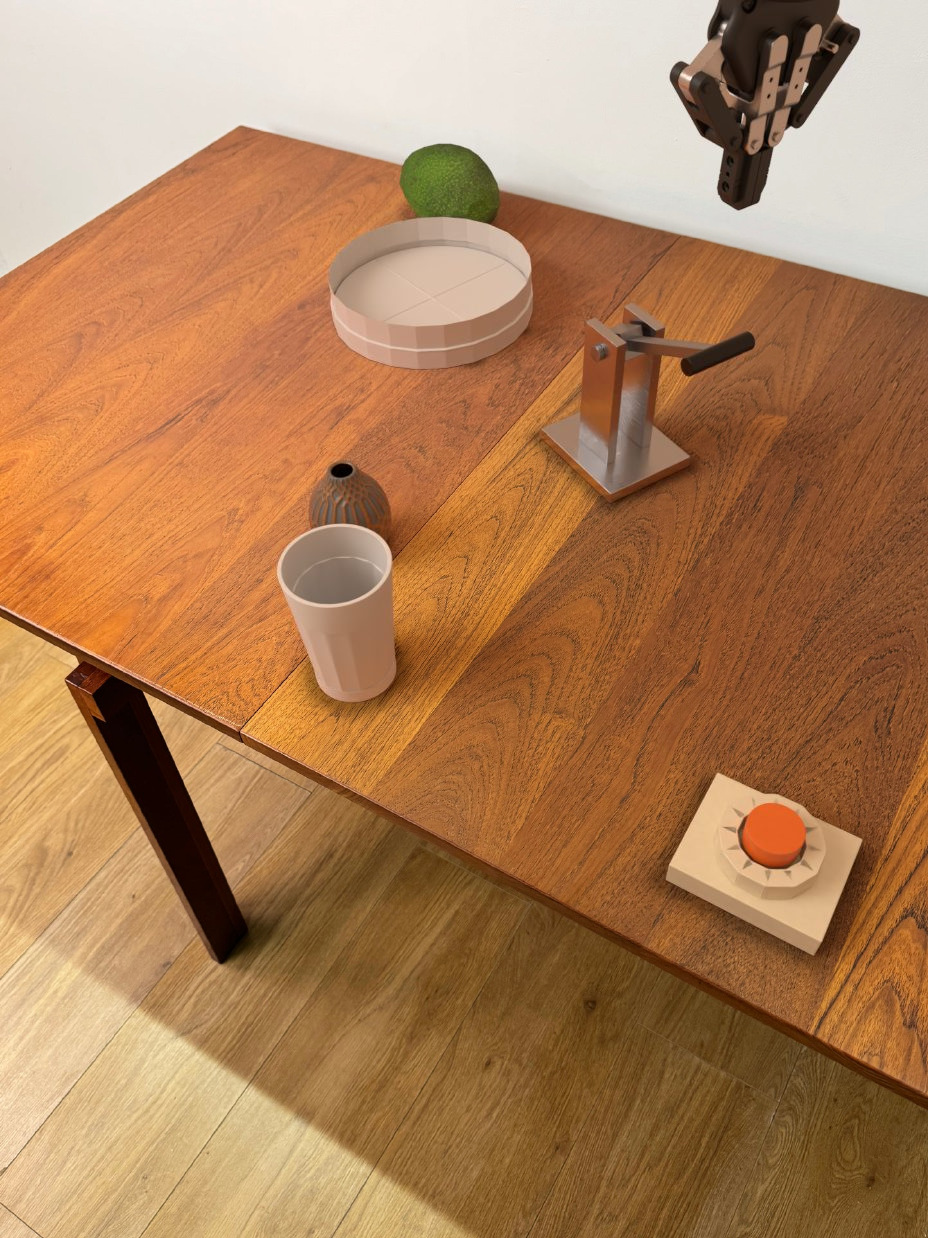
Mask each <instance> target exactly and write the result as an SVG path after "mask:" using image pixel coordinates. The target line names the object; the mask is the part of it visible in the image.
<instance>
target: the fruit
mask: <svg viewBox="0 0 928 1238" xmlns="http://www.w3.org/2000/svg"><path fill="white" fill-rule="evenodd" d="M399 186H400V189H401V191H402V193H403V196H404V198H405V200H406V202H407V204H408V205H409V207H410V208H411V209H412V211H413V212H414V214H415V215H416V217H417V218H430V217H450V218H461V219H469V220H473V221H477V222H481V223H486V224H489V225H492V224H493V222H494V221H495V220H496V219H497V217H498V214H499V210H500V206H501V195H500V194H501V193H500V189H499V184H498V182H497V180H496V177H495V176H494V174H493V171H492V170H491V169H490V167H489V166H488V164H487V163H486V162H485V160H483V159H482V157H481V156H480V155H479V154H478V153H476V152H474V151H473V150H472V149H471V148H467V147H465V146H462V145H459V144H454V143H435V144H431V145H426V146H423V147H420V148H418V149H416V150H414V151H412V152H411V153H410V154H409V155H408V156H407V157H406V159H405V160H404V162H403V163H402V165H401V170H400V177H399Z"/></svg>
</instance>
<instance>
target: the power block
mask: <svg viewBox="0 0 928 1238" xmlns="http://www.w3.org/2000/svg"><path fill="white" fill-rule="evenodd" d="M765 803H777V804H781V805H784V806H787V807H788V808H790V809H792V810H793V811H794V812H796V813H797V814H798V815H799V817H800V818H801V819H802V821H803V823H804V826H805V829H806V838H805V841H804V844H803V846H802V848H801V850H800V852H799V854H798V856H797V858H796V859H795V860H794V861H793V862H792V863H790V864H788V865H786V866H783V867H768V866H765V865H762V864H760V863H758V862H757V861H755V860H754V859H753V858H752V857H750V855H749V854H748V853H747V852H746V850H745V848H744V846H743V842H742V832H743V829H744V826H745V823H746V820H747V817H748V815H749V813H750V812H751V811H752V810H753V809H754V808H755V807H757V806H759V805H761V804H765ZM862 843H863V838H860V837H859V836H857V835H854V834H852V833H850V832H849V831H845V830H843V829H841V828H839V827H837V826H835V825H833V824H830V823H828V822H826V821H824V820H823V819H820V818H817V817H815V816H813V815H812V814H811V813H810V812H809V811H808V810H807V808H805V806H804V805H802V804H800V803H798V802H795V801H793V800H791V799H789V798H787V797H784V796H783V795H781V794H777V793H763V792H761V791H760V790H759V791H758V789H754V788H752V787H750V786H748V785H746V784H743V783H741V782H739V781H737V780H735V779H733V778H731V777H728V776H727V775H724V774H722V773H720V772H717V773H715V776H714V778H713V780H712V782H711V784H710V786H709V787H708V790H707V791H706V794H705V795H704V797H703V799H702V801H701V803H700V805H699V807H698V809H697V811H696V813H695V814H694V817H693V818H692V820H691V822H690V824H689V825H688V828H687V830H686V831H685V833H684V835H683V838H682V839H681V841H680V843H679V845H678V846H677V848H676V851H675V853H674V854H673V856H672V858H671V860H670V862H669V864H668V868H667V872H666V876H665V880H666V881H667V882H669V883H671V884H673V885H675V886H676V887H678V888H680V889H682V890H684V891H687V892H688V893H690V894H692V895H694V896H696V897H698V898H700V899H702V900H704V901H706V902H707V903H710V904H712V905H714V907H715V906H716V907H718V908H719V909H722V910H723V911H725V912H727V913H729V914H731V915H733V916H735V917H737V918H739V919H740V920H743V921H745V922H747V923H749V924H751V925H753V926H755V927H756V928H759V929H760V930H762V931H764V932H766V933H768V934H770V935H772V936H774V937H776V938H778V939H780V940H782V941H784V942H786V943H787V944H789V945H791V946H794V947H795V948H797V949H799V950H801V951H803V952H805V953H807V954H809V955H812V956H815V955H816V953H817V952H818V950H819V948H820V947H821V945H822V943H823V940H824V938H825V936H826V933H827V931H828V928H829V926H830V923H831V921H832V918H833V915H834V914H835V910H836V908H837V906H838V904H839V901H840V899H841V896H842V893H843V891H844V888H845V885H846V883H847V881H848V878H849V876H850V873H851V871H852V869H853V865H854V863H855V861H856V858H857V856H858V853H859V850H860V849H861V846H862Z"/></svg>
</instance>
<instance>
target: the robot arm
mask: <svg viewBox="0 0 928 1238" xmlns="http://www.w3.org/2000/svg"><path fill="white" fill-rule="evenodd" d="M840 4H841V0H718V1H717V4H716V7H715V9H714V13H713V15H712V16H711V18H710V21H709V23H708V26H707V31H706V32H707V33H706V39H707V43H706V44H705V45H704V47H703V48H702V49H701V50H700V51H699V53H697V55H696V56H695V57H694V59H693V60H692V61H691V63H687V62H685V61H683V60H678V61H677V62H675V64H674V65H673V66H672V68H671V70H670V72H669V82H670V84H671V85H672V87H673V89H674V91H675V92H676V94H677V96H678V98H679V100H680V101H681V104H682V105H683V107H684V109H685V110H686V112H687V114H688V116H689V117H690V119H691V121H692V123H693V125H694V127H695V129H696V130H697V132H698V134H699V135H700V136H701V138H704V139H705V140H707V141H709V142H711V143H712V144H715V145H716V146H718V147H719V148H722V149H723V150H722V151H723V152H722V156H721V163H720V168H719V173H718V179H717V186H716V190H717V195H718V196H719V198H720V200H721V202H722V203H724V204H726V205H727V206H729V207H731V208H732V209H734V210H736V211H739V212H740V211H742V210H745V209H746V208H749V207H752V206H754V205H757V204H759V202H760V201H761V196H762V193H763V191H764V190H765V187H766V185H767V182H768V181H767V180H768V175H769V171H770V167H771V163H772V158H773V152H774V149H775V147H777V146H778V145H779V144H780V142H782V140H783V138H784V135H785V131H787V130H788V129H790V128H793V129H795V130H797V129H800V128H801V127H803V125H804V124H805V123H806V121H807V120H808V118H809V117H810V116H811V114H812V112H813V111H814V110H815V107H816V106H817V105H818V104H819V102H820V100H821V99H822V97H823V96H824V94H825V92H826V91H827V90H828V88H829V87H830V85H831V84H832V82H833V81H834V79H835V77H836V76H837V74H838V73H839V72H840V70H841V68H842V67H843V66H844V64H845V62H846V61H847V59H848V58H849V56H850V55H851V53H852V51H853V50H854V48H855V47H856V46H857V45H858V42H859V41H860V37H861V29H860V28H858V27H856V26H854V25H852V24H850V23H849V22H846V21H844V20H843V19H842V17H841V16H840V15H839V14H838V12H839V8H840ZM805 83H806V84H807V85H806V86H805ZM804 86H805V88H804Z"/></svg>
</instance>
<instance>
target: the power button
mask: <svg viewBox="0 0 928 1238" xmlns="http://www.w3.org/2000/svg"><path fill="white" fill-rule="evenodd" d="M805 838H806V829H805V826H804V823H803V821H802V819H801V818H800V817H799V815H798V814H797V813H796V812H794V811H793V810H792V809H790V808H788V807H787V806H784V805H781V804H777V803H765V804H761V805H759V806H757V807H755V808H754V809H753V810H752V811H751V812H750V813H749V815H748V817H747V820H746V823H745V826H744V829H743V832H742V842H743V846H744V848H745V850H746V852H747V853H748V854H749V855H750V857H752V858H753V859H754V860H755V861H757V862H758V863H760V864H762V865H765V866H768V867H783V866H786V865H788V864H790V863H792V862H793V861H794V860H795V859H796V858H797V856H798V854H799V852H800V850H801V848H802V846H803V844H804V841H805Z"/></svg>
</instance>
